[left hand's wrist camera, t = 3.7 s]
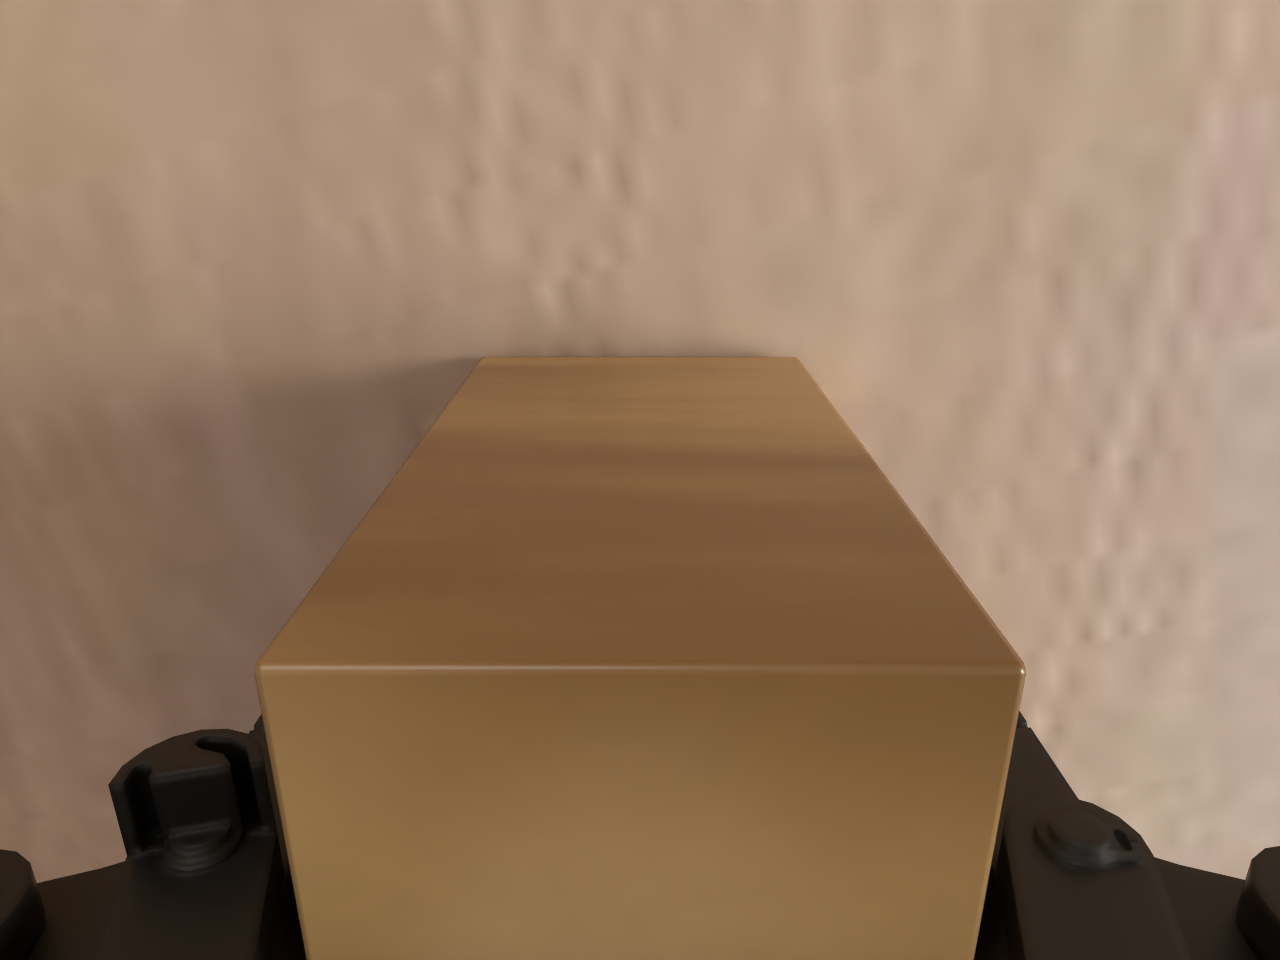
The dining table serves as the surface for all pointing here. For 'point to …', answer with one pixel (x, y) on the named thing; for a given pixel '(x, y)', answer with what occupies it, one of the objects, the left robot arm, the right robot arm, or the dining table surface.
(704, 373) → the bar
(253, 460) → the dining table surface
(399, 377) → the dining table surface
